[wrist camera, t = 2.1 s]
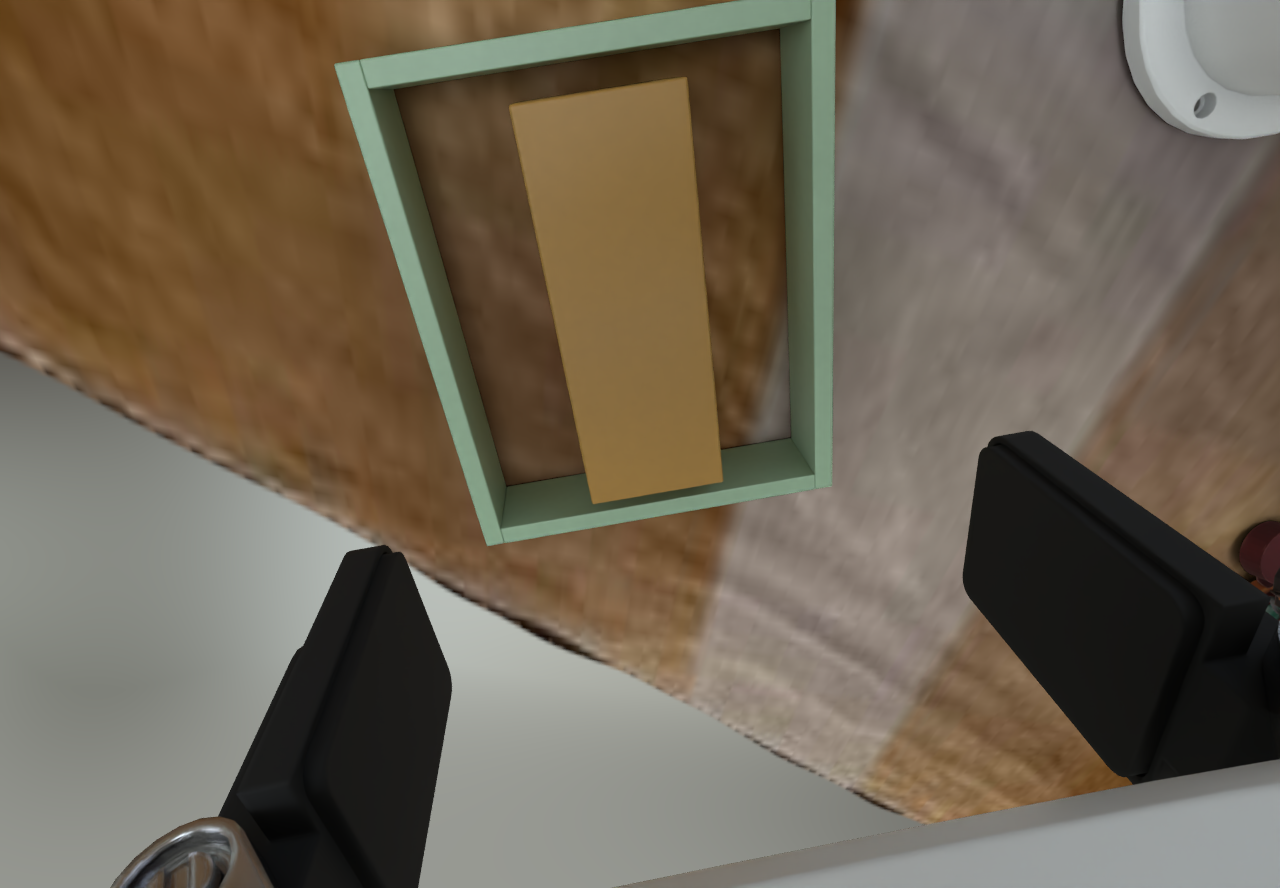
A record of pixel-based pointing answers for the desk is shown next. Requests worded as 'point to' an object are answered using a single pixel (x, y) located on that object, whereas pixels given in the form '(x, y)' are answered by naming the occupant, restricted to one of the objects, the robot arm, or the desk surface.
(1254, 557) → the binoculars
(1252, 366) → the desk surface
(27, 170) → the desk surface
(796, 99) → the green rectangular open frame
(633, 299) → the tan wooden plank
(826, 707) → the desk surface
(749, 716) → the desk surface
